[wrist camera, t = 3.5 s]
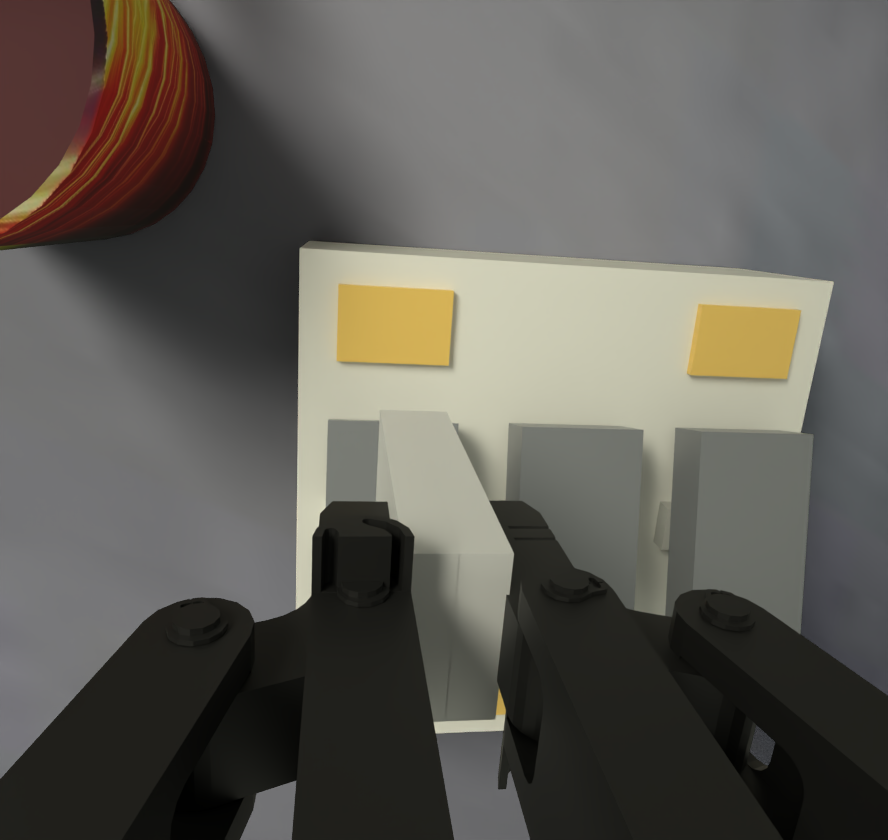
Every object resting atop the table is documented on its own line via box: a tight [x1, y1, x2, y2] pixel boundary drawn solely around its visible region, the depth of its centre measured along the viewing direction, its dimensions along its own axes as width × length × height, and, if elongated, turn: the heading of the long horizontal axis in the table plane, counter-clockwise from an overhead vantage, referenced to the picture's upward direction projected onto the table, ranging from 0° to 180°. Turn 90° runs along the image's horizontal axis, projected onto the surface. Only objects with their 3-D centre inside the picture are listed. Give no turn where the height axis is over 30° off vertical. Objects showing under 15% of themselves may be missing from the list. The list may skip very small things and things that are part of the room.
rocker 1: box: [326, 419, 459, 507], centre depth 22 cm, size 8×4×2 cm, turn 176°
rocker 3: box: [665, 428, 814, 634], centre depth 24 cm, size 8×4×2 cm, turn 176°
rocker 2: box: [506, 423, 644, 610], centre depth 23 cm, size 8×4×2 cm, turn 176°
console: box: [296, 241, 834, 733], centre depth 27 cm, size 18×18×7 cm
